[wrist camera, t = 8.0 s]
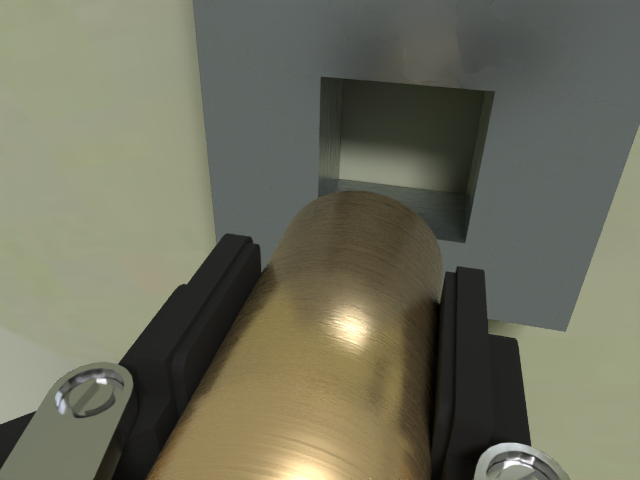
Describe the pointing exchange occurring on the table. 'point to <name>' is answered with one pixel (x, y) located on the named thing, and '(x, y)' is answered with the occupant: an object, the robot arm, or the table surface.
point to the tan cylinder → (324, 356)
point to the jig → (443, 71)
